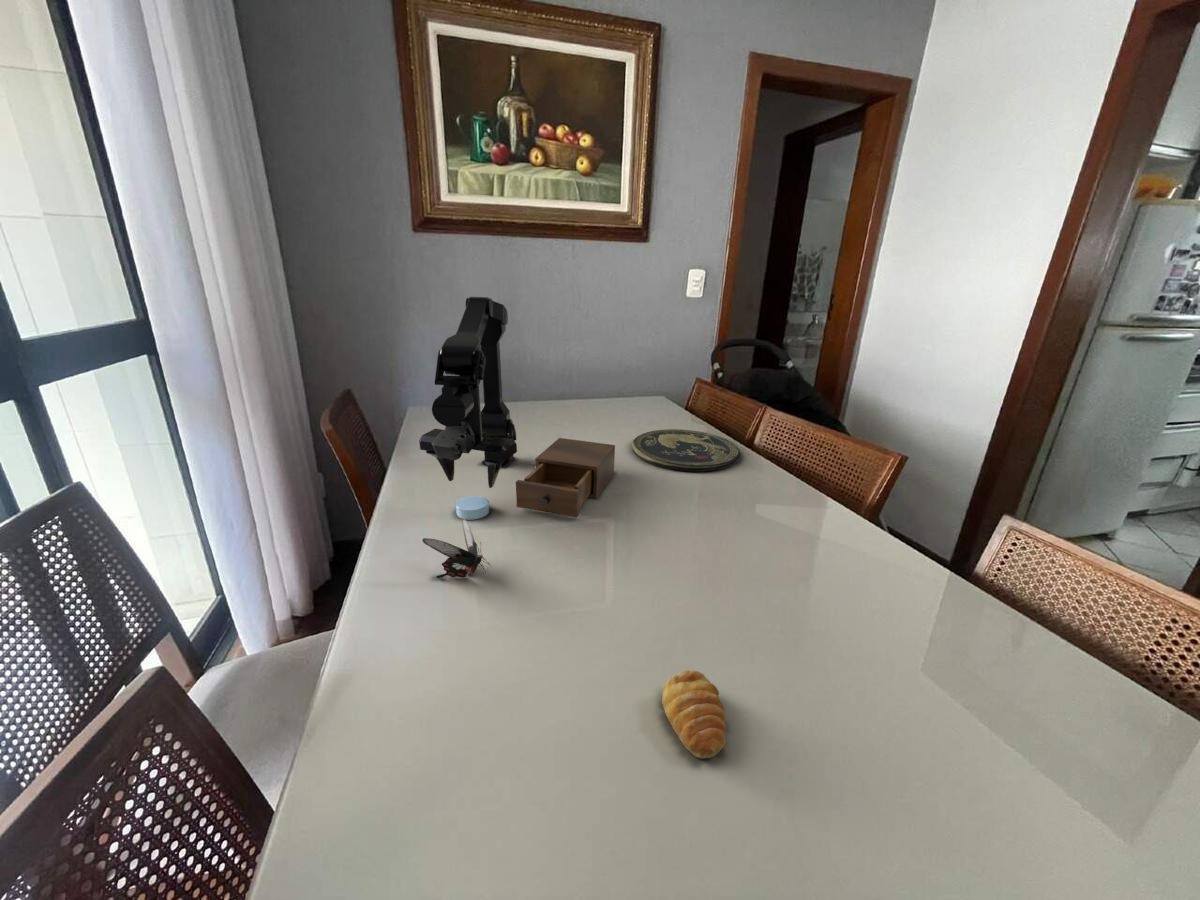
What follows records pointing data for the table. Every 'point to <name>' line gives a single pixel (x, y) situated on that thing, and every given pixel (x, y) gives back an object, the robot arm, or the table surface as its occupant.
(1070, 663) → the table surface
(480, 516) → the light blue disc
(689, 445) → the decorative plate
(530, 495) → the drawer
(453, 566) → the butterfly
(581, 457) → the cabinet
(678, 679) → the pastry
